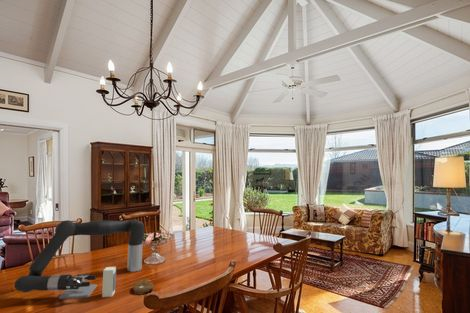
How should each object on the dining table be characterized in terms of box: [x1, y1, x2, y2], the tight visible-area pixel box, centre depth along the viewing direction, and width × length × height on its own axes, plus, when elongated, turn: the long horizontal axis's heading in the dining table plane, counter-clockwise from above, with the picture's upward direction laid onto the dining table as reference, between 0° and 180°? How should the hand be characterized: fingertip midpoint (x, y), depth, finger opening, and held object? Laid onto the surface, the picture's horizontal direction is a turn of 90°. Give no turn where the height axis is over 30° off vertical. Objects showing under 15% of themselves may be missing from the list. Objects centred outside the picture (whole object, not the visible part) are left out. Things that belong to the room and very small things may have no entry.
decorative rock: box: [132, 278, 155, 296], centre depth 152 cm, size 11×4×15 cm
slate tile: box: [58, 283, 98, 300], centre depth 147 cm, size 14×14×1 cm
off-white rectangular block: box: [101, 266, 117, 298], centre depth 145 cm, size 5×5×14 cm
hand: (92, 280), depth 143 cm, fingers open, 8 cm apart
